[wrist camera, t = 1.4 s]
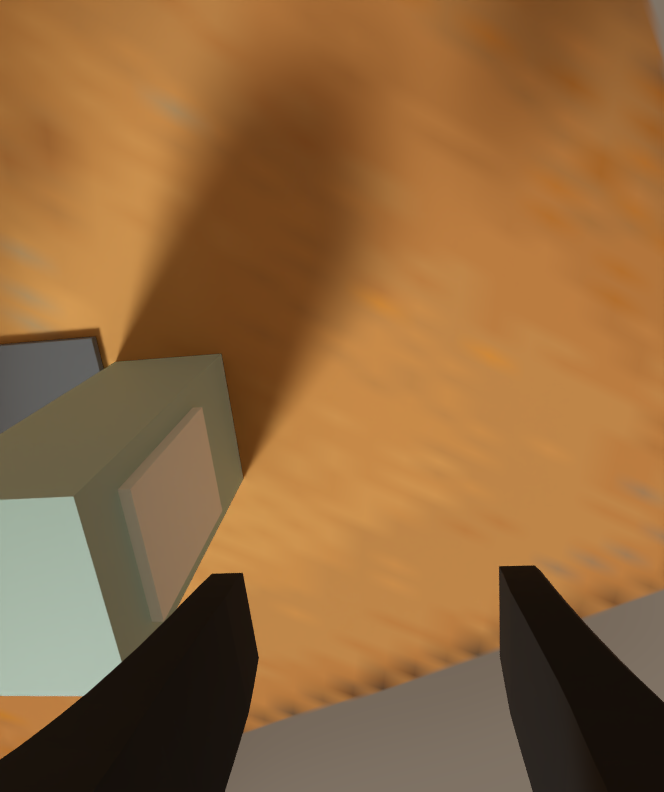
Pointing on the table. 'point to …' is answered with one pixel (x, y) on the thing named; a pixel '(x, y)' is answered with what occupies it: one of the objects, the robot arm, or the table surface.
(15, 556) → the sage block
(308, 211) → the table surface
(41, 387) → the mat
